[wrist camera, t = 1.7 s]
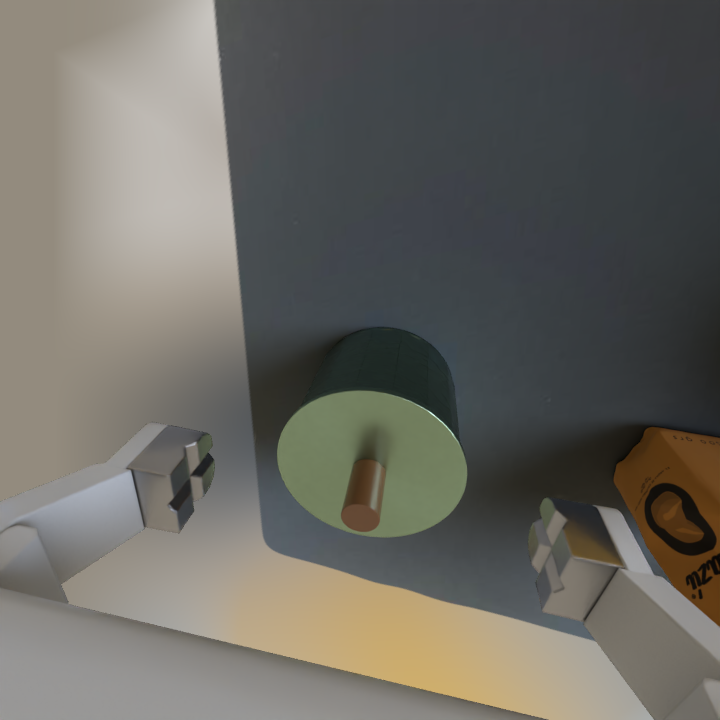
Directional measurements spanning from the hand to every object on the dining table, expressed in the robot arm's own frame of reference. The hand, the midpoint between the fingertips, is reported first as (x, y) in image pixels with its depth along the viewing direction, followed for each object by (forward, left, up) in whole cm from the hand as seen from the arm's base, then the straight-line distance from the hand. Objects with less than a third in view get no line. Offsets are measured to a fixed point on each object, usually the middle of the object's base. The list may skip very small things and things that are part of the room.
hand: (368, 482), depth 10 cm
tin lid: (+3, -12, -14) cm, 19 cm away
